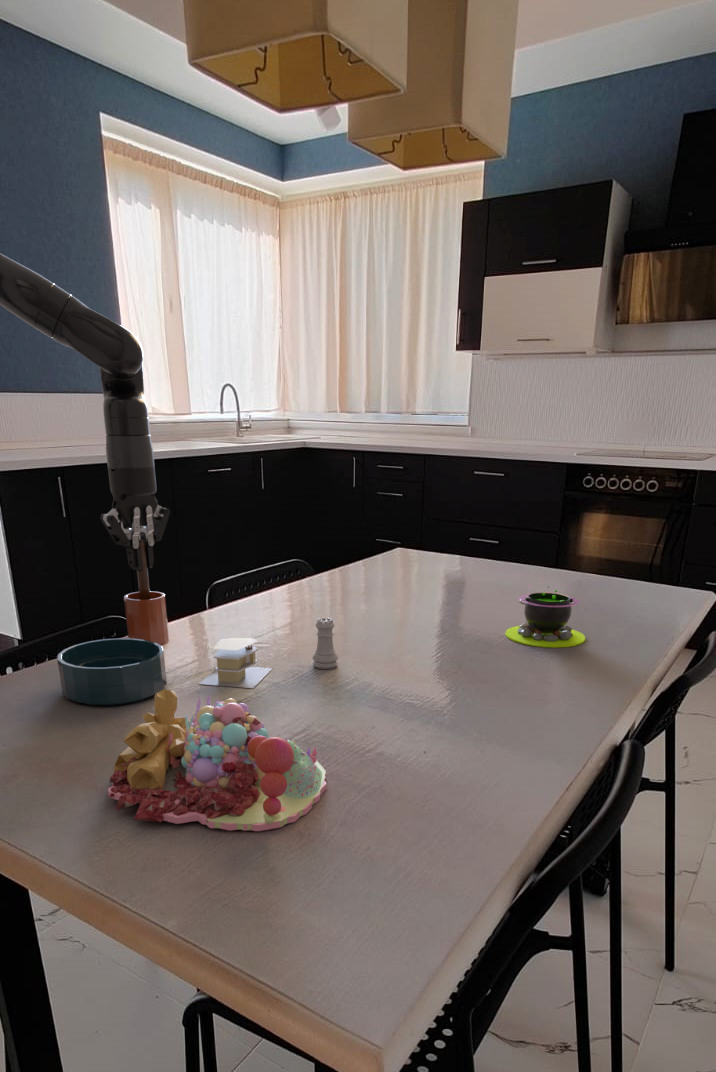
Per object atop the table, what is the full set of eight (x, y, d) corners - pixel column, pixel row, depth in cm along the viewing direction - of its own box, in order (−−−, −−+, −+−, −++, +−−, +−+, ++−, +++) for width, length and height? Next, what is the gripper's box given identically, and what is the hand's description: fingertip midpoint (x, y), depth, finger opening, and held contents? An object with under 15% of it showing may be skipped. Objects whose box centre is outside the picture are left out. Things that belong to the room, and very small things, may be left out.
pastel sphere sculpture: (77, 828, 80) (65, 747, 76) (146, 737, 101) (138, 670, 98) (317, 836, 79) (316, 754, 75) (335, 742, 100) (334, 675, 97)
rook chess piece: (338, 670, 128) (338, 623, 125) (311, 670, 128) (310, 623, 124) (338, 661, 132) (338, 616, 129) (312, 661, 132) (311, 616, 129)
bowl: (42, 693, 116) (36, 655, 114) (124, 668, 128) (120, 633, 125) (105, 716, 108) (100, 675, 106) (187, 687, 119) (184, 650, 117)
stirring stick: (140, 639, 140) (129, 539, 133) (148, 637, 141) (137, 537, 134) (151, 642, 138) (140, 541, 131) (158, 640, 140) (148, 539, 133)
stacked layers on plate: (253, 688, 119) (251, 654, 117) (198, 684, 121) (196, 650, 119) (272, 668, 128) (271, 636, 126) (221, 664, 130) (219, 633, 128)
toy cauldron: (575, 626, 154) (582, 571, 150) (594, 648, 140) (602, 588, 136) (500, 625, 155) (504, 570, 150) (511, 646, 141) (517, 587, 136)
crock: (121, 645, 139) (115, 596, 136) (152, 636, 145) (147, 589, 141) (146, 652, 136) (141, 602, 132) (177, 643, 141) (173, 594, 137)
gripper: (149, 460, 135) (158, 560, 142) (81, 465, 125) (95, 572, 132) (178, 463, 131) (186, 565, 138) (111, 467, 121) (123, 577, 128)
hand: (141, 568), depth 135 cm, fingers closed on stirring stick, 2 cm apart
